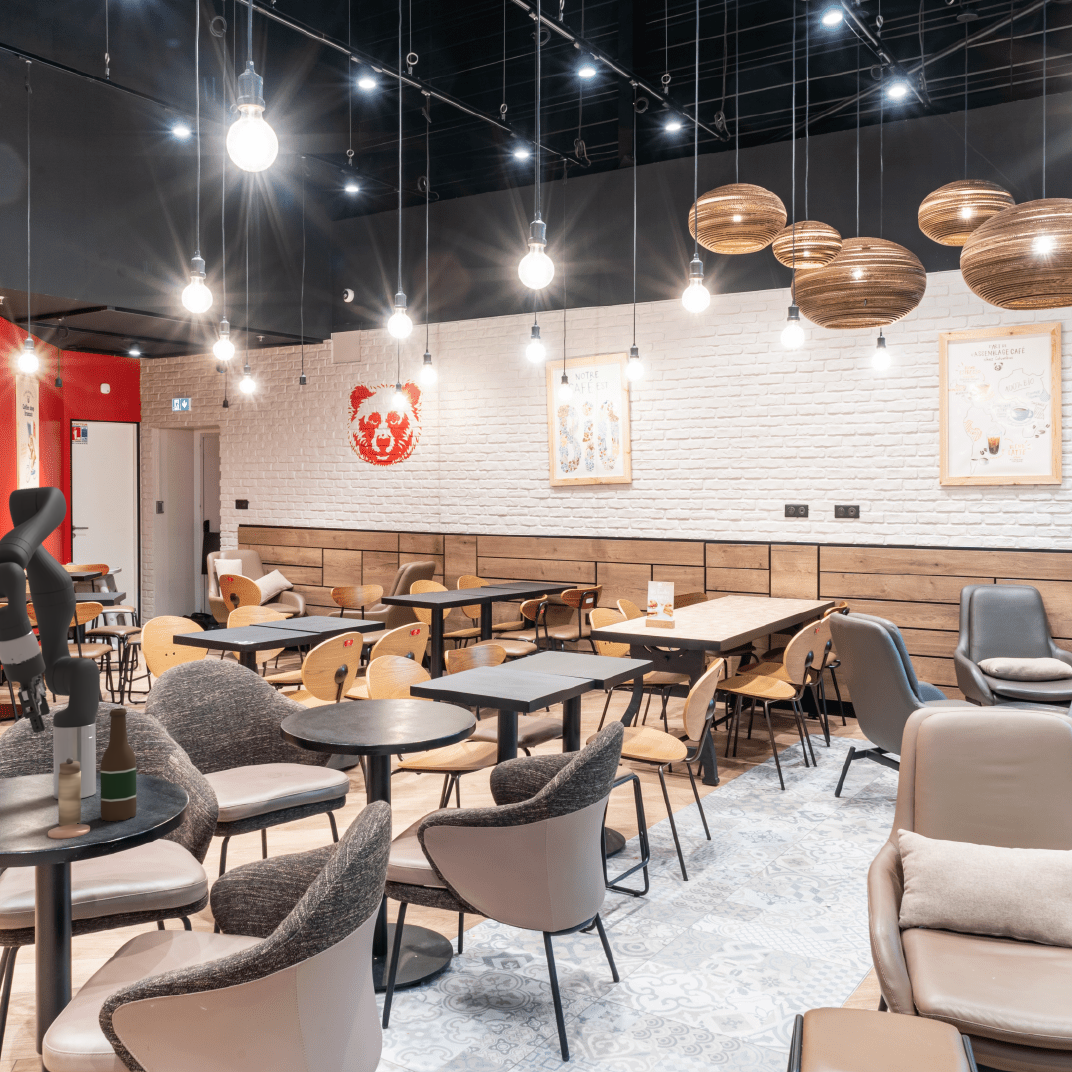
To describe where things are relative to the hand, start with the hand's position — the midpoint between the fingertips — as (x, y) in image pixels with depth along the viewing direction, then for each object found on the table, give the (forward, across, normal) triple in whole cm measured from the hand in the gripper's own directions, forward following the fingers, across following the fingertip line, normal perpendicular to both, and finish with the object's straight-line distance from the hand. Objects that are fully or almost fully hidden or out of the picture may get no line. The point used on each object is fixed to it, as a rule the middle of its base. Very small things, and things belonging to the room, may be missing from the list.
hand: (42, 722), depth 204 cm
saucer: (+21, +11, +1) cm, 24 cm away
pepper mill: (+23, +4, 0) cm, 23 cm away
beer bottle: (+26, +3, +9) cm, 27 cm away
